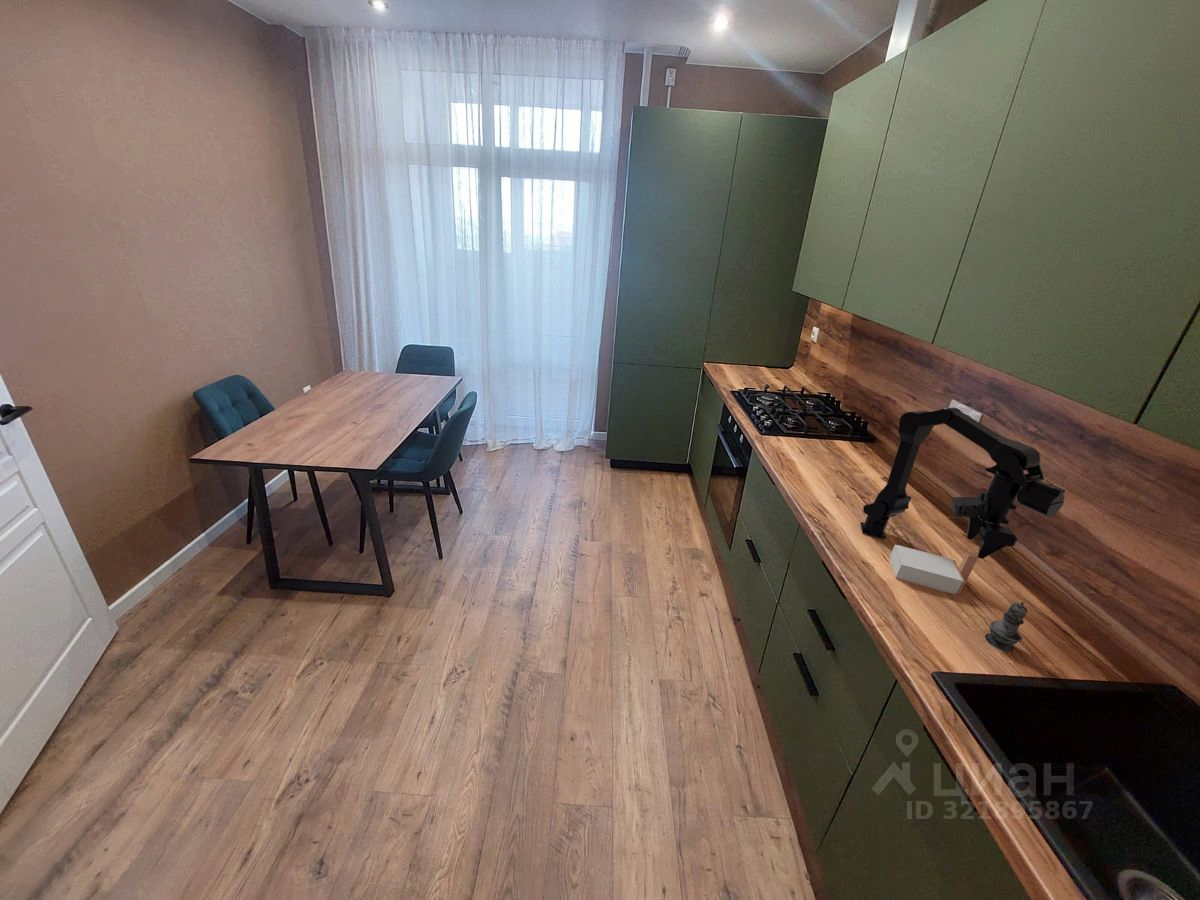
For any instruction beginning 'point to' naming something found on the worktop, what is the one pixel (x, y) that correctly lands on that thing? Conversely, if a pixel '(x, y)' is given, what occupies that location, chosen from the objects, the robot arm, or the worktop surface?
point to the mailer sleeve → (925, 569)
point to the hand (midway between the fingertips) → (974, 548)
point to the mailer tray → (966, 567)
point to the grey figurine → (1007, 628)
